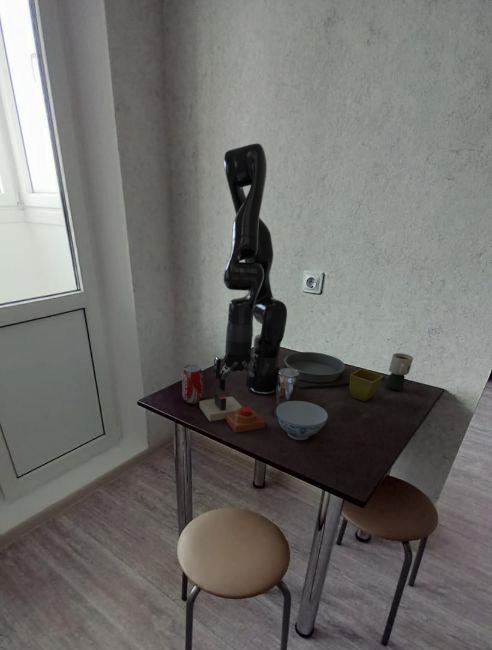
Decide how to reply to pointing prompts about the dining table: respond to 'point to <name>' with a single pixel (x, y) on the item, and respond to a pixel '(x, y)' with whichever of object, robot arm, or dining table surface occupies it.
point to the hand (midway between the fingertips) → (235, 388)
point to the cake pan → (315, 366)
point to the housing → (244, 421)
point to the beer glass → (286, 386)
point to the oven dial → (220, 401)
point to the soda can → (192, 384)
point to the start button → (245, 411)
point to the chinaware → (301, 418)
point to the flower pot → (364, 384)
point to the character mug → (398, 370)
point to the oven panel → (214, 412)
